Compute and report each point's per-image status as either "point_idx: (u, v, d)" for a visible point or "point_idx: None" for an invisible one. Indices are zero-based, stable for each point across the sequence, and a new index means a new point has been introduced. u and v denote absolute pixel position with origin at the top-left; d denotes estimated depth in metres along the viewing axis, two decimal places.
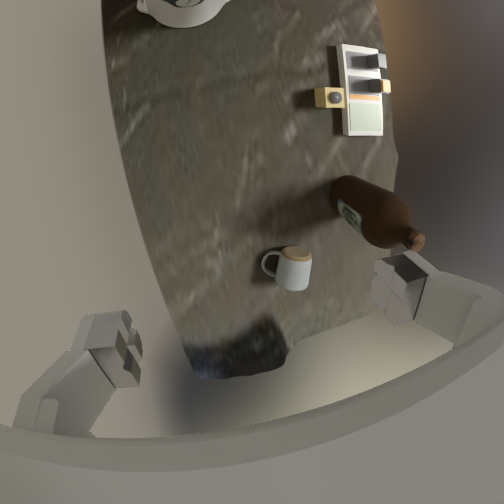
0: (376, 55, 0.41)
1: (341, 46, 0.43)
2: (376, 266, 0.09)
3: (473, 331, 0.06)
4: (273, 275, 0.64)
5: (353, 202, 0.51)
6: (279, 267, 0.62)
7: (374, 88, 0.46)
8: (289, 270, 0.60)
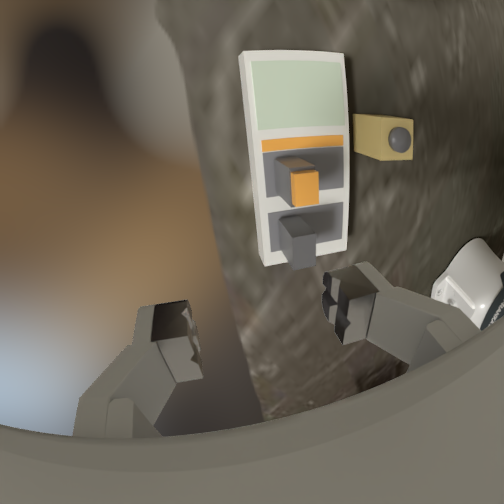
0: None
1: None
2: (324, 279, 0.09)
3: (426, 358, 0.05)
4: None
5: None
6: None
7: None
8: None
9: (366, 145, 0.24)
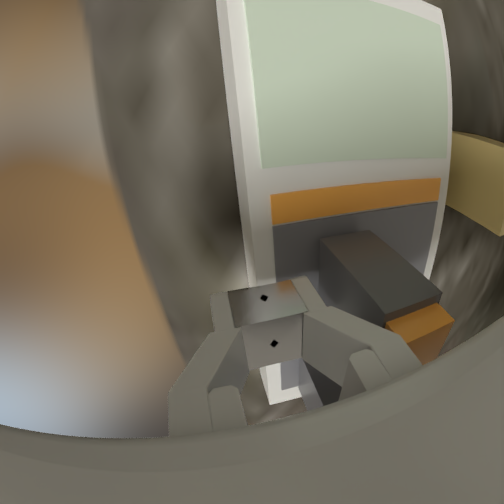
0: None
1: None
2: None
3: (351, 390, 0.05)
4: None
5: None
6: None
7: None
8: None
9: (467, 197, 0.11)
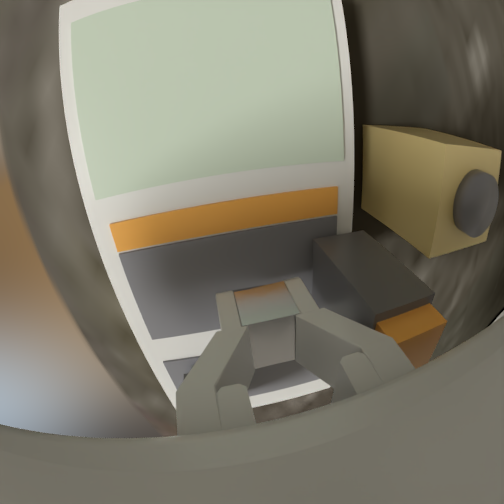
0: None
1: None
2: None
3: (342, 393, 0.05)
4: None
5: None
6: None
7: None
8: None
9: (393, 207, 0.10)
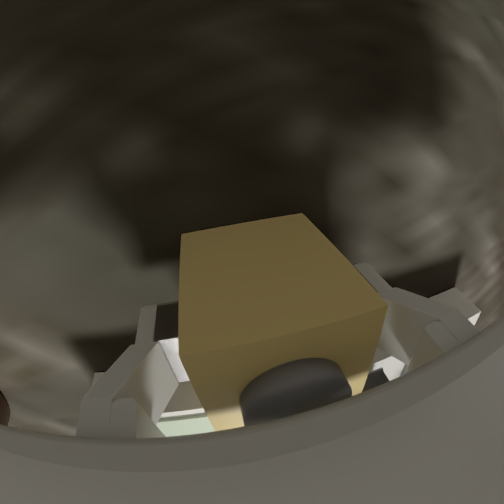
0: None
1: (472, 311, 0.12)
2: None
3: (424, 359, 0.05)
4: None
5: None
6: None
7: None
8: None
9: None
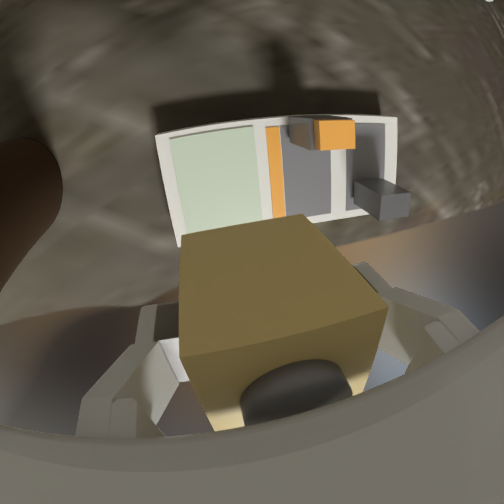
0: (403, 191, 0.19)
1: (390, 117, 0.21)
2: None
3: (424, 359, 0.05)
4: None
5: None
6: None
7: (309, 116, 0.17)
8: None
9: None
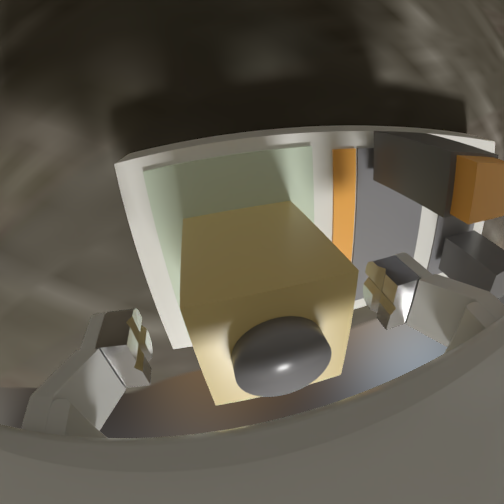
0: None
1: None
2: (367, 268, 0.09)
3: (466, 335, 0.06)
4: None
5: None
6: None
7: (422, 138, 0.08)
8: None
9: None
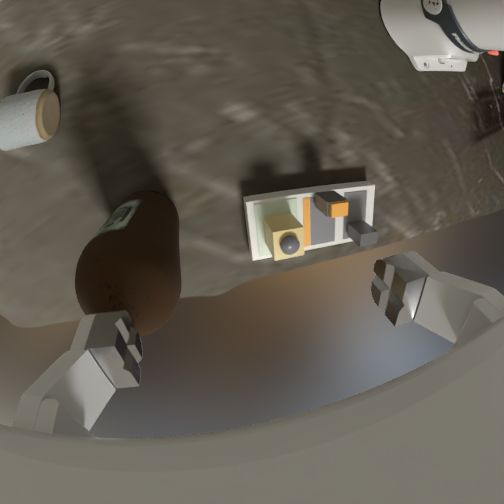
0: (373, 230, 0.39)
1: (371, 185, 0.40)
2: (376, 266, 0.09)
3: (473, 331, 0.06)
4: (18, 92, 0.22)
5: (144, 215, 0.27)
6: None
7: (326, 196, 0.36)
8: (23, 101, 0.21)
9: None
